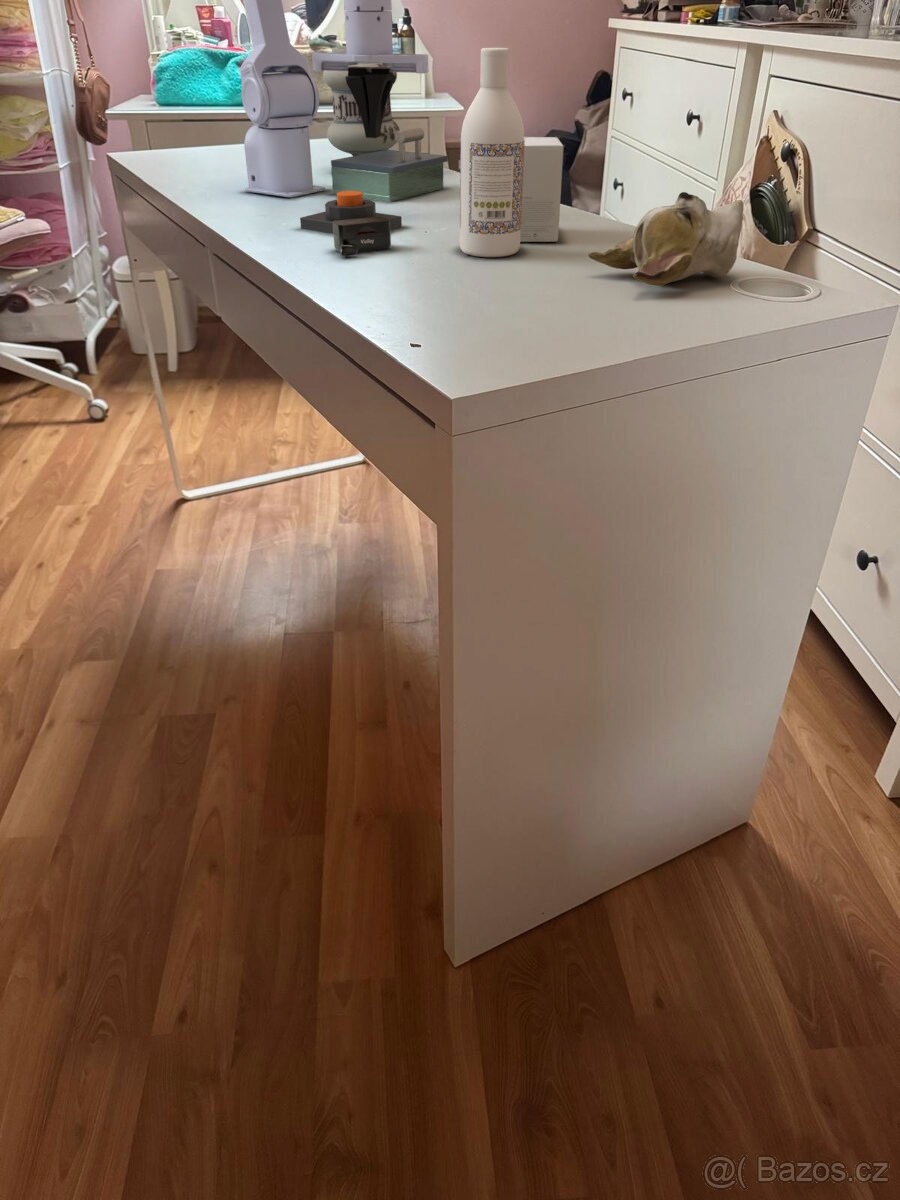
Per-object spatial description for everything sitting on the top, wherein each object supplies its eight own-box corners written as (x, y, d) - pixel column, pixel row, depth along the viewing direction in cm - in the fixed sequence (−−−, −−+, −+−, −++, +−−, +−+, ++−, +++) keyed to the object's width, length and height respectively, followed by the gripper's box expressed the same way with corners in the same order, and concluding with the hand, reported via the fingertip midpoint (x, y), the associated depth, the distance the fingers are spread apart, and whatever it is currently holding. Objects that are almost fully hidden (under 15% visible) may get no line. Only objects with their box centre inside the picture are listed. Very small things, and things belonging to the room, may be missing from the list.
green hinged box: (443, 188, 137) (443, 161, 135) (389, 202, 128) (388, 173, 126) (388, 182, 142) (387, 155, 140) (333, 194, 133) (331, 166, 131)
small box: (558, 243, 107) (564, 145, 101) (511, 242, 107) (515, 144, 101) (553, 228, 113) (558, 136, 108) (508, 228, 114) (512, 135, 108)
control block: (300, 229, 113) (298, 203, 111) (341, 218, 119) (340, 194, 117) (362, 239, 108) (361, 212, 107) (402, 227, 114) (401, 202, 112)
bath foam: (530, 254, 102) (541, 49, 91) (476, 261, 99) (480, 50, 88) (501, 242, 107) (508, 46, 96) (449, 248, 105) (450, 47, 93)
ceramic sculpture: (778, 191, 86) (641, 212, 82) (765, 283, 91) (636, 307, 87) (713, 175, 94) (586, 193, 90) (705, 261, 99) (584, 281, 95)
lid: (447, 161, 135) (447, 125, 132) (393, 173, 126) (392, 135, 123) (387, 155, 140) (386, 120, 137) (331, 166, 131) (328, 129, 128)
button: (332, 207, 112) (331, 193, 111) (348, 202, 114) (347, 189, 113) (352, 209, 110) (351, 196, 109) (368, 205, 112) (367, 192, 111)
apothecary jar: (339, 165, 157) (331, 44, 147) (406, 166, 155) (403, 44, 145) (321, 176, 147) (312, 47, 137) (393, 177, 145) (389, 48, 135)
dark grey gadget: (326, 251, 103) (324, 221, 101) (383, 245, 106) (382, 216, 104) (341, 260, 100) (339, 229, 98) (399, 253, 102) (398, 223, 101)
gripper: (299, 11, 106) (309, 138, 114) (416, 12, 103) (418, 142, 111) (320, 10, 112) (328, 132, 120) (432, 11, 109) (433, 135, 117)
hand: (373, 137), depth 116 cm, fingers closed
